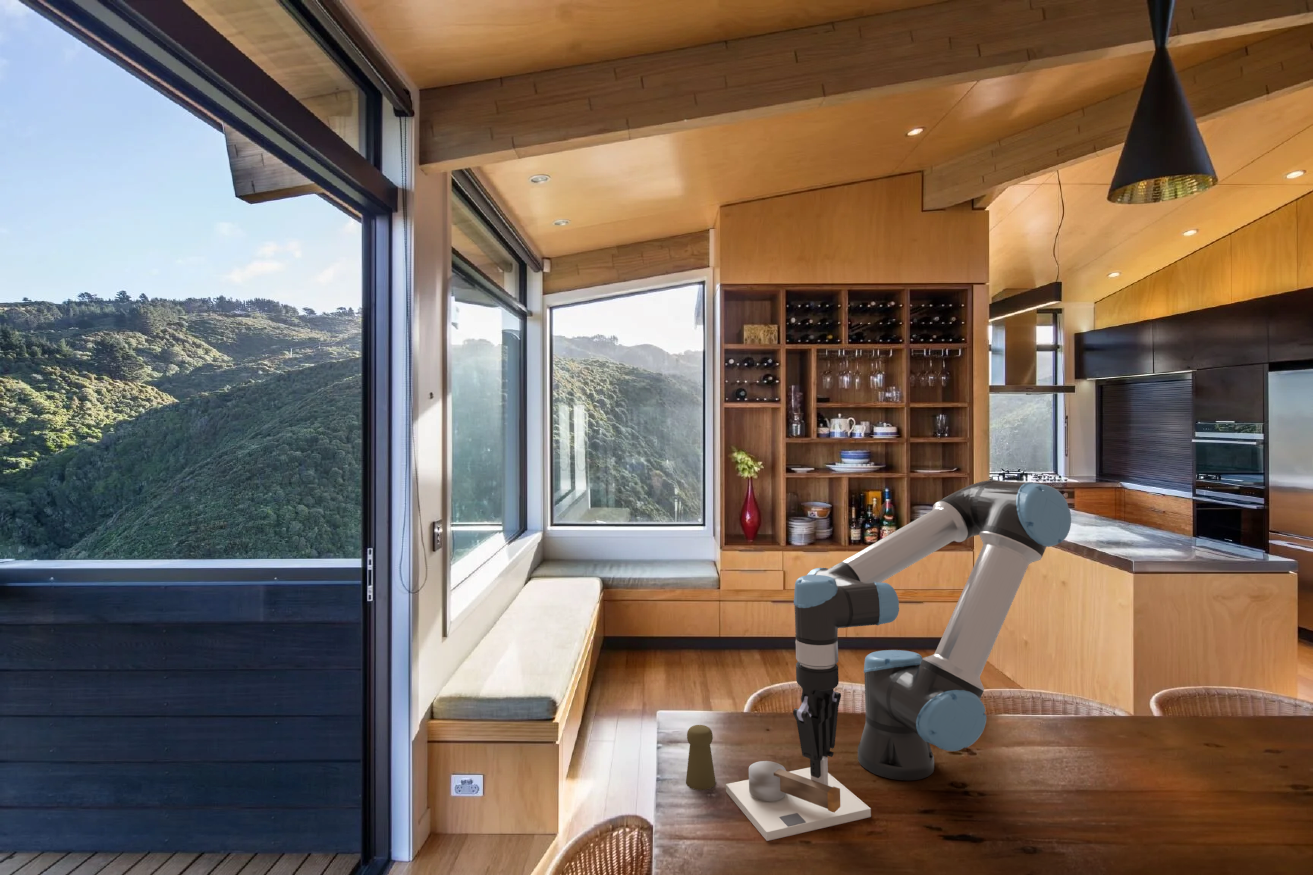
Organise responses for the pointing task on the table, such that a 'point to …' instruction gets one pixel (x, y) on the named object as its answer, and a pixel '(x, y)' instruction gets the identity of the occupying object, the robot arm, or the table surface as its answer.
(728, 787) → the base plate
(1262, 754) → the table surface
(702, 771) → the olive pawn
